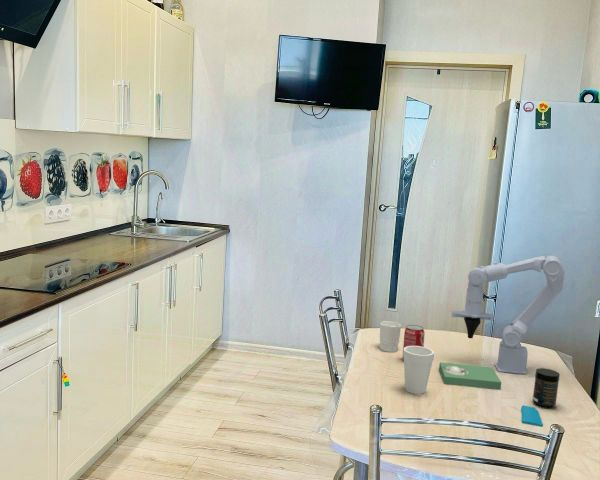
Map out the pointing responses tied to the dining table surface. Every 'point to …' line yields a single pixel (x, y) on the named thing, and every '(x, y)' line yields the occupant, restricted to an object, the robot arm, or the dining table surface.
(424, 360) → the foam cup
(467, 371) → the putting mat
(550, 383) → the supplement container
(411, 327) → the soda can
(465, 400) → the dining table surface
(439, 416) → the dining table surface
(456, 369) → the ball
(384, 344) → the white cup
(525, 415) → the sponge
